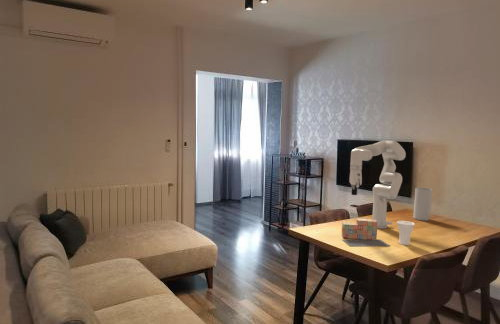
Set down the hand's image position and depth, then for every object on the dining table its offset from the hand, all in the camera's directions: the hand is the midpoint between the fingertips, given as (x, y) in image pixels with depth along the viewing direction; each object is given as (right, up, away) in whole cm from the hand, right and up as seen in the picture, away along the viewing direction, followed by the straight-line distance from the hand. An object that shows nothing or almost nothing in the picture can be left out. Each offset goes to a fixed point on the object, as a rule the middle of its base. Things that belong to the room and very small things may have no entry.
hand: (354, 194), depth 250 cm
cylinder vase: (+70, -25, +52) cm, 91 cm away
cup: (+27, -30, -17) cm, 44 cm away
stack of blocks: (+1, -28, -8) cm, 29 cm away
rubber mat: (+2, -29, -18) cm, 34 cm away
